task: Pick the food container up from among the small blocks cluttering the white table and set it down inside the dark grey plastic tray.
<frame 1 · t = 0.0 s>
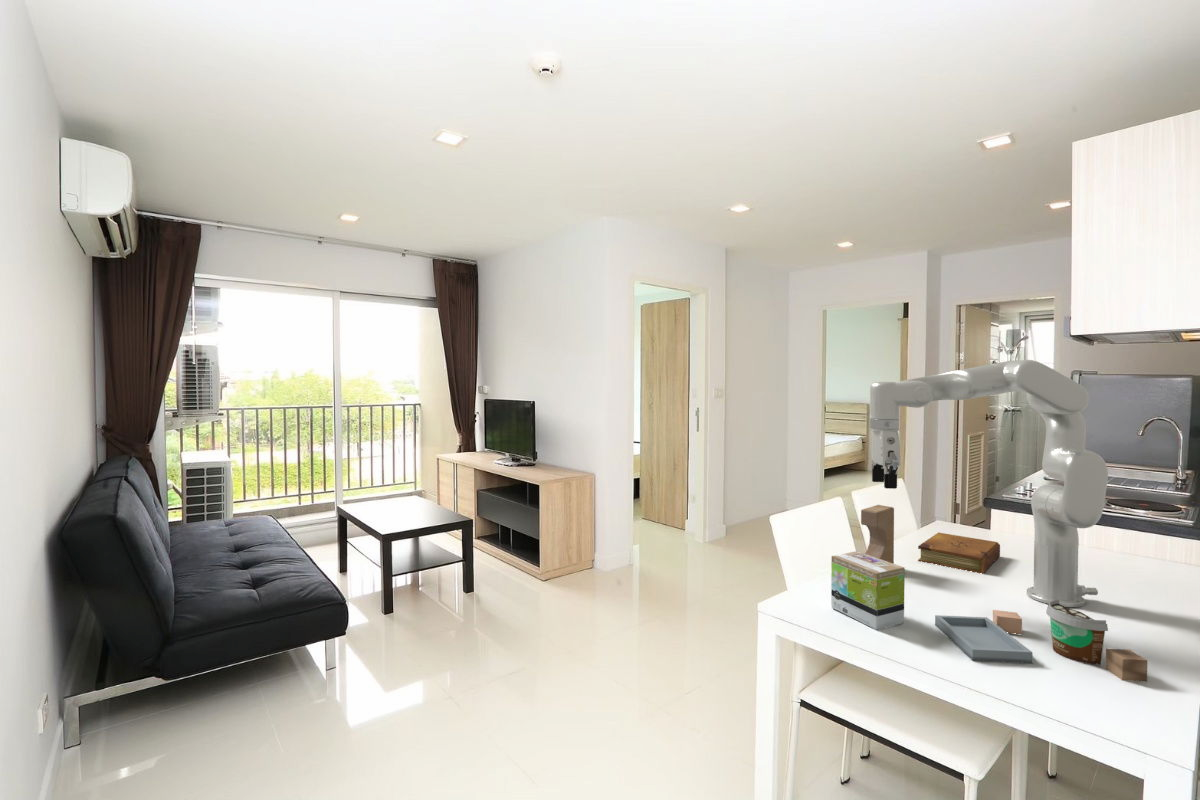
hand: (884, 484, 162), 31 cm above the table, tool pointing down, fingers open, 9 cm apart
decorative block: (877, 570, 183), on the table
walnut cube: (1125, 675, 117), on the table
tray: (980, 642, 132), on the table
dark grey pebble: (1066, 636, 135), on the table
food container: (1067, 655, 126), on the table
tea box: (866, 617, 148), on the table
diary: (959, 561, 192), on the table
terracotta block: (1006, 630, 139), on the table
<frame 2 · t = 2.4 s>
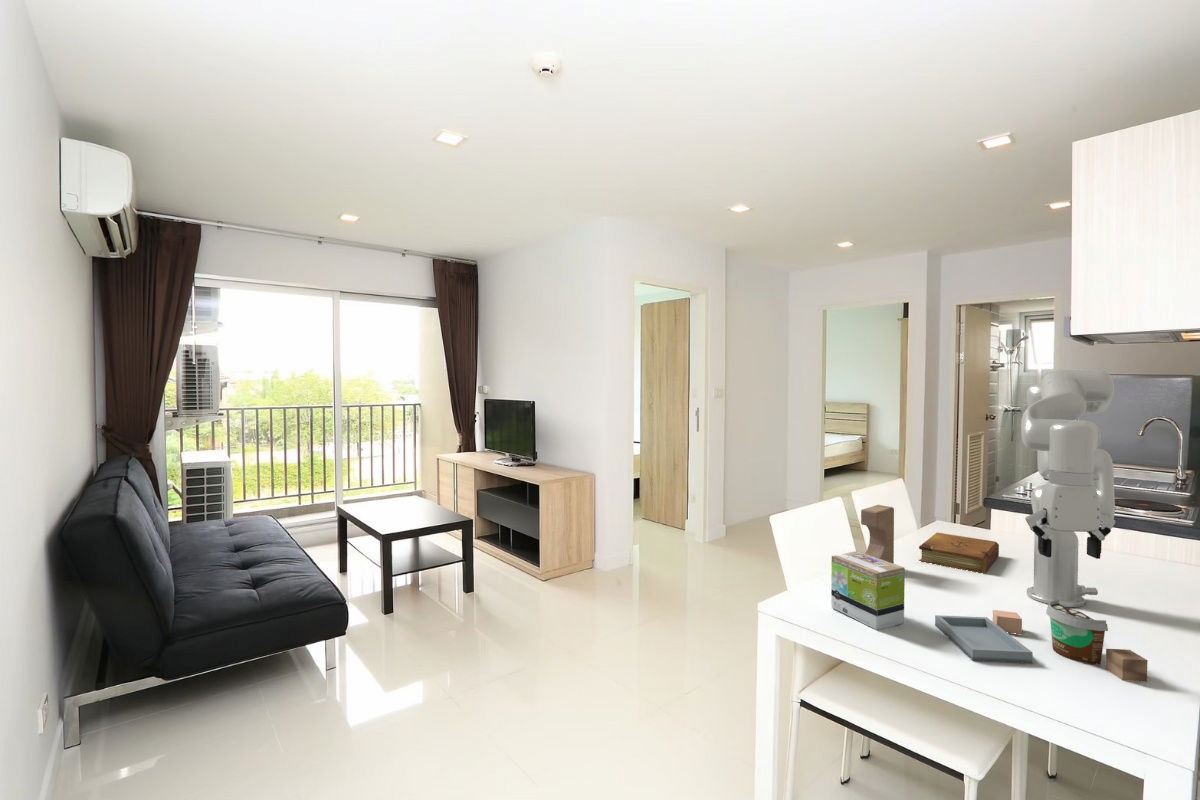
hand: (1069, 556, 125), 22 cm above the table, tool pointing down, fingers open, 9 cm apart
nothing on the table moved.
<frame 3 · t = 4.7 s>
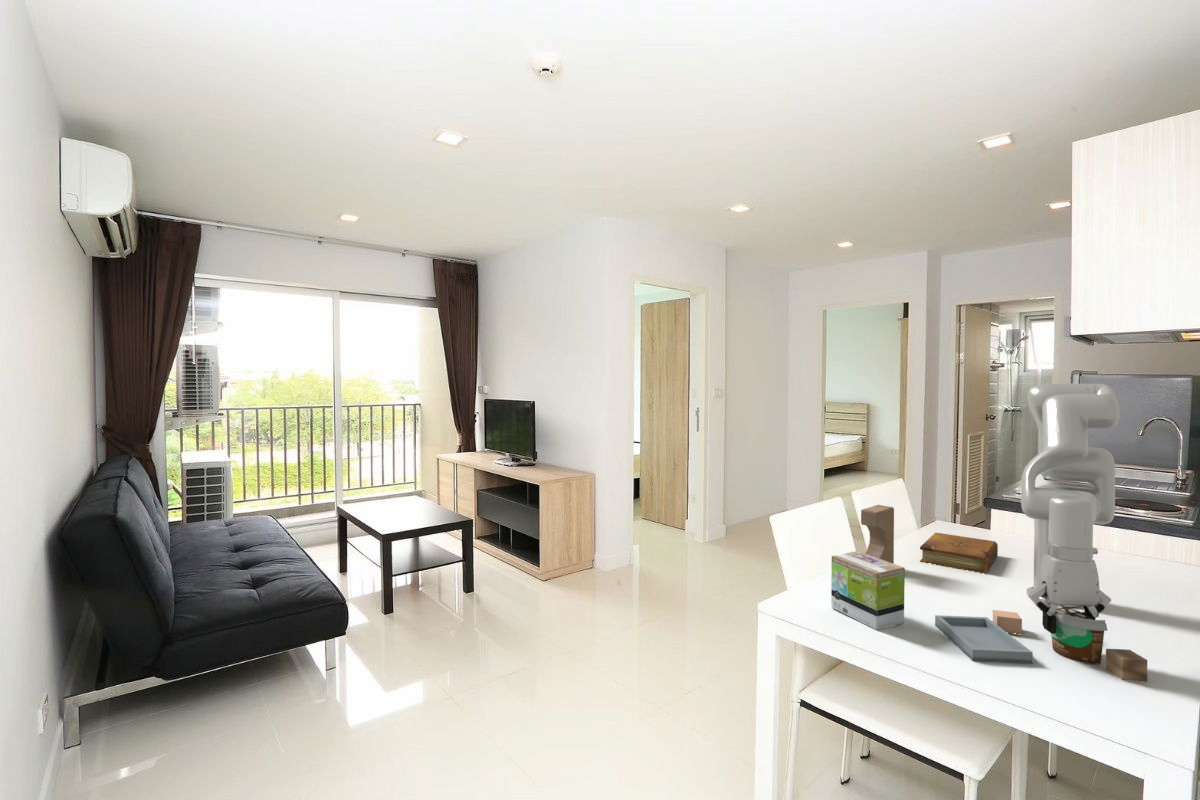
hand: (1068, 631, 126), 5 cm above the table, tool pointing down, fingers closed on food container, 7 cm apart
food container: (1067, 655, 126), on the table, touching gripper
everything else where it was.
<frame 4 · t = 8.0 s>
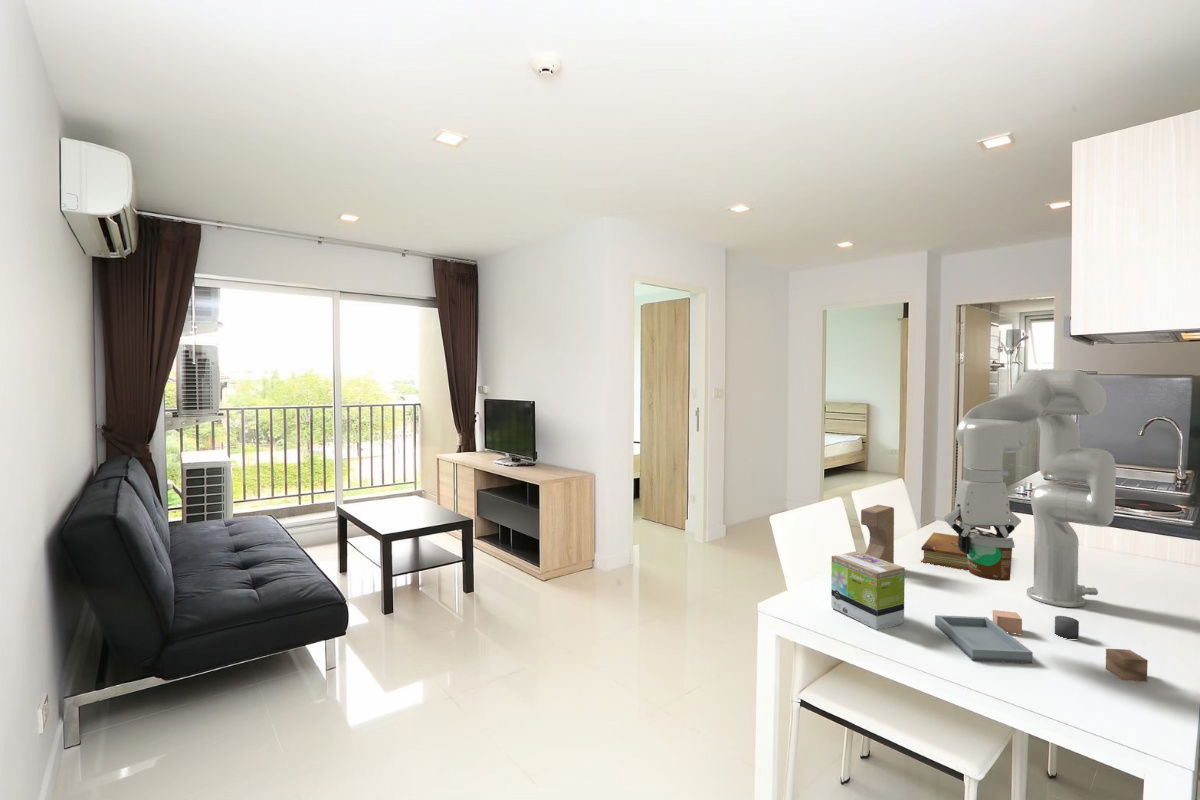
hand: (981, 552, 131), 21 cm above the table, tool pointing down, fingers closed on food container, 6 cm apart
food container: (981, 575, 132), point 16 cm above the table, touching gripper
everything else where it was.
when the fingers open (8 cm above the table, at t = 11.3 s): food container drops 2 cm, resting on tray.
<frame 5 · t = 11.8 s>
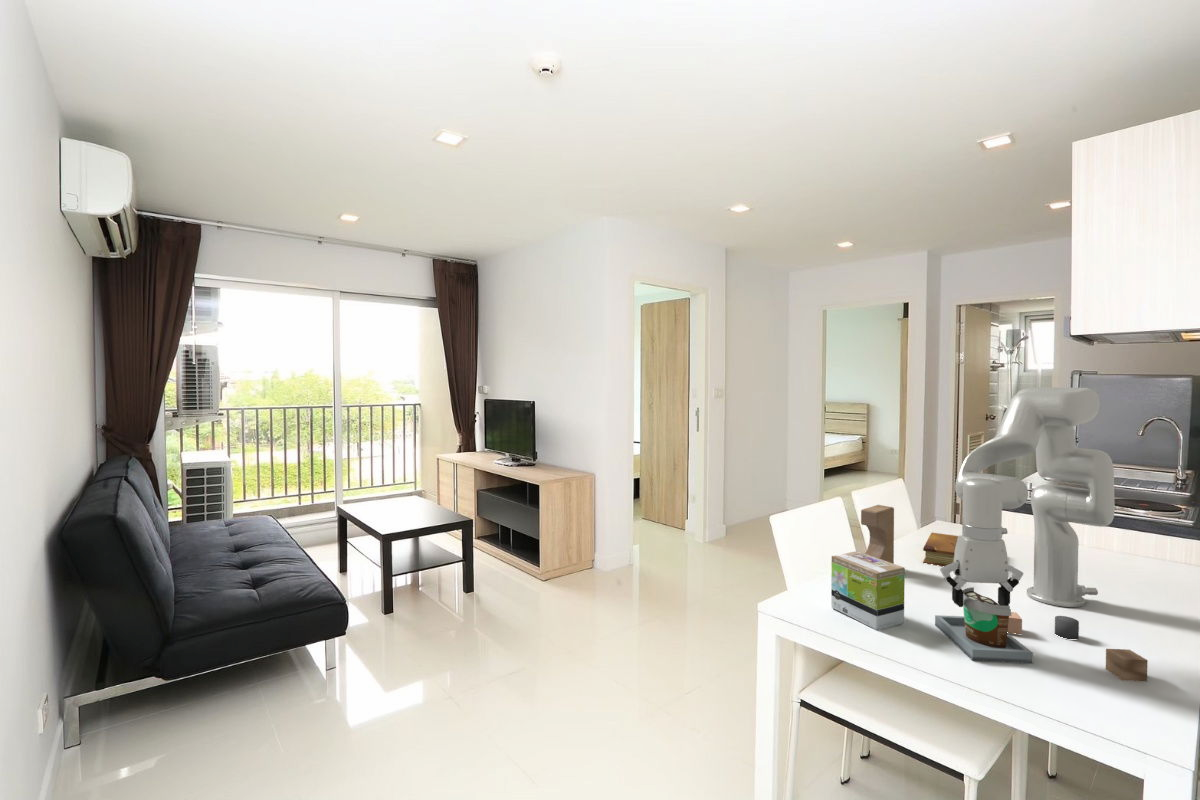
hand: (980, 605, 132), 9 cm above the table, tool pointing down, fingers open, 9 cm apart
food container: (977, 639, 133), point 1 cm above the table, touching tray
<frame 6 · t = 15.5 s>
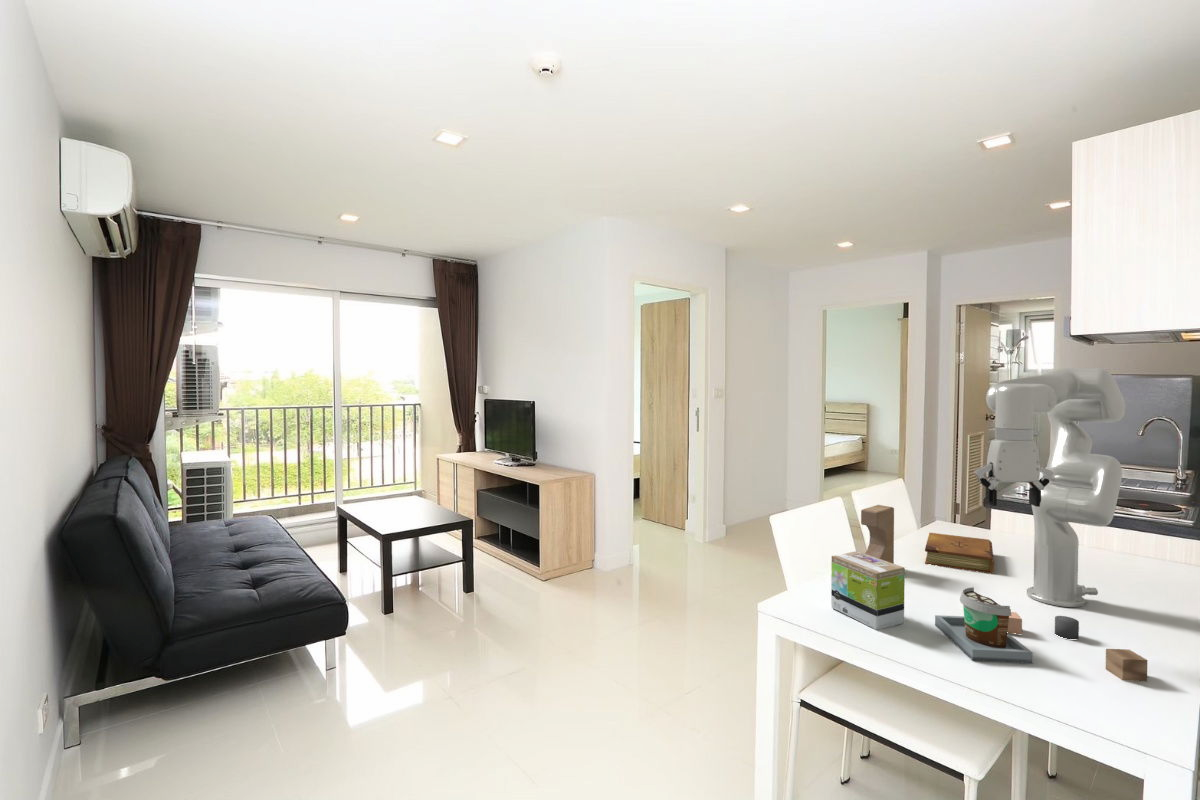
hand: (1012, 505, 139), 30 cm above the table, tool pointing down, fingers open, 9 cm apart
at the end: food container inside the target area on the tray (0.5 cm from its centre), point 0.6 cm above the tray's base; food container tilted 0°; the gripper is holding nothing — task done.
